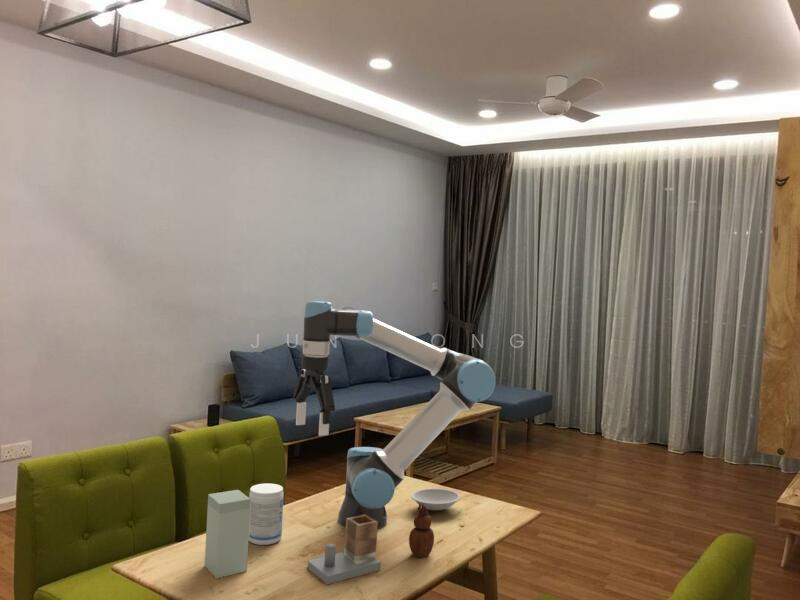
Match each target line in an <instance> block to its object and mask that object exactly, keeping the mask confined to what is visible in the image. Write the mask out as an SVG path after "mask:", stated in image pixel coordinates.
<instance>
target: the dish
mask: <svg viewBox="0 0 800 600" xmlns="http://www.w3.org/2000/svg"><path fill="white" fill-rule="evenodd" d="M410 497H411V498H412V500H413V501H414V502H416V504H417V505H419V503H420V505H421V508H422V503H424V506H426V508H427V510H429V511H433V510H438V511H443V510H445V509H447V510H448V509H449V508H450V507H452V506H453V505H454V504H455V503H457V502H458V501H459V500H460V499H461V494H460V493H459V492H457V491H455V490H451V489H448V488H439V487H438V488H437V487H434V488H432V487H431V488H430V487H429V488H423V489H418V490H416V491H414V492H413V493H411V494H410Z"/></svg>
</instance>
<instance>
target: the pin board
mask: <svg viewBox="0 0 800 600" xmlns="http://www.w3.org/2000/svg"><path fill="white" fill-rule="evenodd" d="M324 548H325V549H324V550H325V551H324V556H321V557H318V558H314V559H309V560H307V569H308V570H309V571H310V572H312V573H313V574H314V576H316V577H317V578H318V579H320V580H321V581H322V582H324V584H326V585H330V584H333V583H337V582H340V581H344V580H345V581H346V580H348V579H351V578H355V577H359V576H362V575H365V574H370V573H374V572H378V571H381V566H382V565H381V563H382V562H381V560H378V559H377V558H376V559H375V560H372V561H368V562H364V563H360V564H355V563H354V562H352V561H351V560H350V559H348V558H347V557H345V556H344V551H342V552H339V553H336V544H333V543H327V544H325V547H324Z"/></svg>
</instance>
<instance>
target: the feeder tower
mask: <svg viewBox="0 0 800 600" xmlns="http://www.w3.org/2000/svg"><path fill="white" fill-rule="evenodd" d="M250 502H251V499H250V498H249V496H247V495H246V494H245V493H243V492H242V491H241V490H239V489H233V490H227V491H226V490H225V491H222V492H215V493H214V492H213V493H208V495H207V513H206V533H205V552H204V553H205V554H204V567H206V569H207V570H208V571H209V572H210V573H211V574H213V575H214V576H213V575H212V576H213V577H214V578H215V579H219V577H220V578H223V576H224V577H228V575H229V576H232V575H236V574H241V573H245V572H247V571H248V555H249V521H250Z"/></svg>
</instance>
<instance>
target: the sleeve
mask: <svg viewBox="0 0 800 600" xmlns="http://www.w3.org/2000/svg"><path fill="white" fill-rule="evenodd" d="M377 526H378V522H377V521H375V520H374V519H372V518H370V517H369V516H367V515H365V514H364V515H360V516H355V517H350V518H346V527H345V534H344V550H343V552H344V556H345V557H347V558H348V559H350V560H351V561H352V562H354V563H355V564H360V563H364V562H368V561H372V560H375V559H377V558H376V557H377V540H378V529H377Z"/></svg>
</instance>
